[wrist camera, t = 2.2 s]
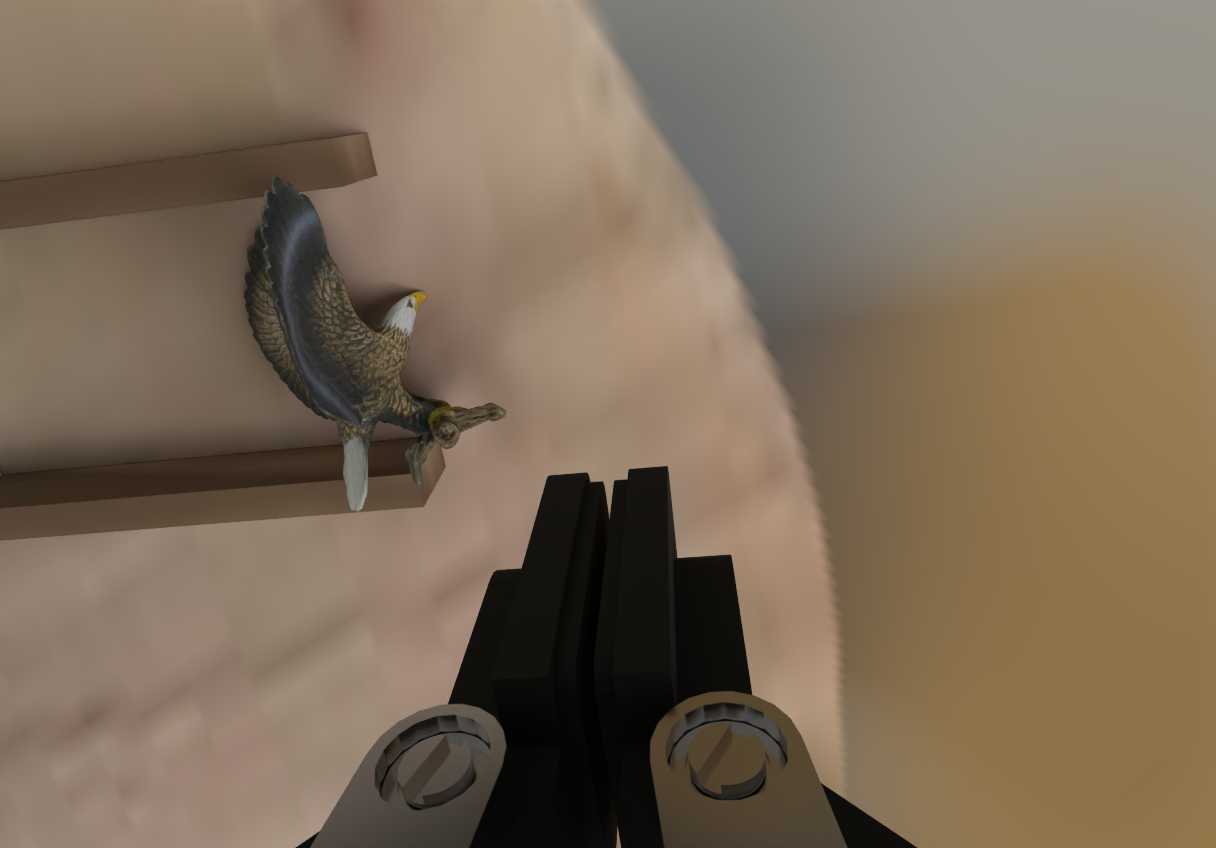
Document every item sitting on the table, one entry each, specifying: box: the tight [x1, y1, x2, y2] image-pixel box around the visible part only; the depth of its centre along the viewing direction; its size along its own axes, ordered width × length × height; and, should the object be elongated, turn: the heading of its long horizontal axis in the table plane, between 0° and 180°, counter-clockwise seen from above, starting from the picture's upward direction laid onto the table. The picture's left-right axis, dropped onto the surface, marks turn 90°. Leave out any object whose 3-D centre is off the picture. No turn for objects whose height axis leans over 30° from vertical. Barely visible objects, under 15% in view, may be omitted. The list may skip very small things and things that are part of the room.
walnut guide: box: [0, 133, 446, 540], centre depth 26 cm, size 12×20×4 cm, turn 97°
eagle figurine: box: [244, 176, 506, 511], centre depth 24 cm, size 8×7×9 cm
